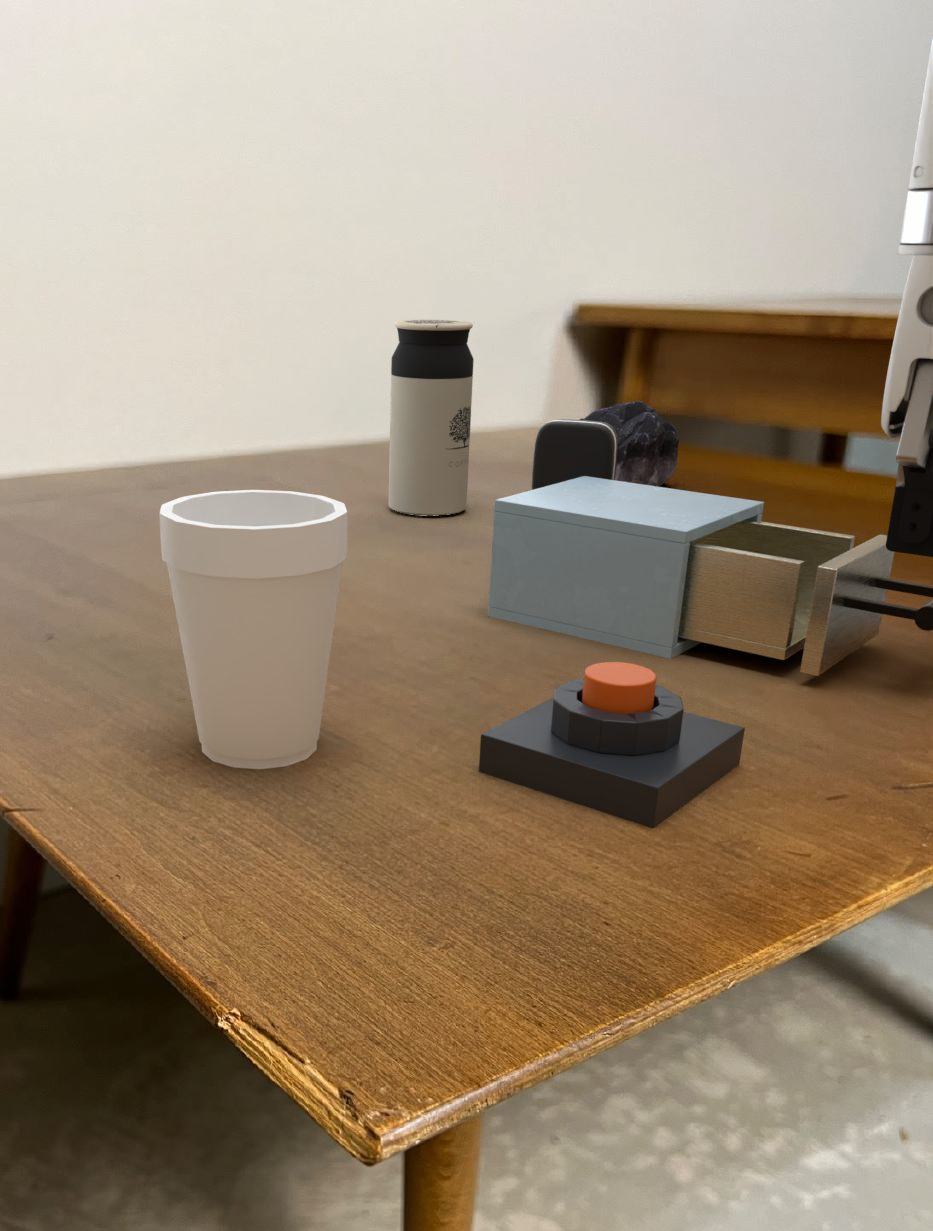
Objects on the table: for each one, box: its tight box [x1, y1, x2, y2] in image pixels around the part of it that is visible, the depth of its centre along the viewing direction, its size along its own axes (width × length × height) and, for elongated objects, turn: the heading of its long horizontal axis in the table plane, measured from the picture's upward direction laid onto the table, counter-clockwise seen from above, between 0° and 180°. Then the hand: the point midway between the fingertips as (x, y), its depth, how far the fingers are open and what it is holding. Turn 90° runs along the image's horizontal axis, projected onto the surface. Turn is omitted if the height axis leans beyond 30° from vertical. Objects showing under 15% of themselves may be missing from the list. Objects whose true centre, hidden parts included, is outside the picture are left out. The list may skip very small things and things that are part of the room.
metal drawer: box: [678, 519, 933, 677], centre depth 79 cm, size 19×11×7 cm, turn 50°
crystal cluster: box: [578, 400, 680, 487], centre depth 135 cm, size 13×14×10 cm
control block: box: [478, 678, 746, 829], centre depth 62 cm, size 10×10×4 cm
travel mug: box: [387, 319, 475, 516], centre depth 119 cm, size 8×8×18 cm
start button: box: [582, 661, 657, 714], centre depth 61 cm, size 4×4×2 cm
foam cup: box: [158, 489, 348, 770], centre depth 63 cm, size 10×9×13 cm
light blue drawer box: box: [487, 476, 765, 659], centre depth 87 cm, size 15×13×9 cm
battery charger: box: [531, 418, 618, 490], centre depth 104 cm, size 7×4×11 cm, turn 70°
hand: (915, 550), depth 74 cm, fingers closed
